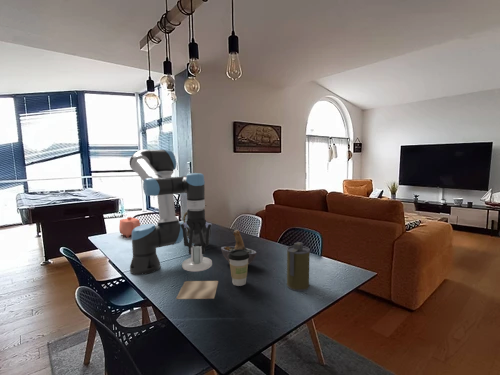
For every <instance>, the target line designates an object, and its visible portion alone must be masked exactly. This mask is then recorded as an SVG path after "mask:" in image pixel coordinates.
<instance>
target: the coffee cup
mask: <svg viewBox="0 0 500 375" xmlns="http://www.w3.org/2000/svg"><path fill="white" fill-rule="evenodd" d="M228 258H229V260H230V263H229V269H230V276H231V281H232V284H233V286H237V287H239V286H240V287H241V286H244V285H246V284H247V277H248V270H249V268H248V267H249V264H248V258H249V254H248V252H247V251H246V250H241V249H238V250H233V251H231V252H230V254H229V256H228Z"/></svg>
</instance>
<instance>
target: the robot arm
mask: <svg viewBox="0 0 500 375" xmlns="http://www.w3.org/2000/svg"><path fill="white" fill-rule="evenodd" d="M129 166H130V169H131V171H133V172H135V173H136V174H138V176H139V177H140V178H141V180H142V181H143V182H142V189H143V192H144V193H143V194H145V196H147V197H149V196H150V197H156V196H157V197H156V198H157V205H158V213H159V214H158V215H159V220H158V221H157V225H155V224H154V223H144V224H140V226H138V227H136V228H134V229H133V230H132V235H131V246H132V259H131V262H130V266H129V272H130V273H131V274H133V275H140V276H141V275H148V274H152V273H154V272H156V271H158V270H159V269H160V268H161V261H160V259H159V256H158V254H157V248H162V247H168V246H174V245H177V244H180V243H182V241H183V245H184V247H187V248H188V254H189V255H190V258H191V262H193V247H194V245H193V244H194V243H193V236H194V231H195V230H197V231H198V232H199V236H200V241H201V247H200V262H202V261H203V257H204V255H205V254H206V247H208V246H209V245H210V239H209V238H211V236H210V228H211V227H212V224H213V223H212V222H208V221H207V220H206V210H205V208H206V206H205V205H206V203H205V201H206V200H205V197H206V196H205V175H204V173H201V172H191V173H187V174H186V175H180V176H172V175H173V174H174V171H175V170H176V168H177V159H176V156H175V154H174V152H173V151H172V150H170V149H141V150H138V151H136V152H135V153H133V154H132V155H131V157H130V158H129ZM176 194H186V209H187V210H186V212H187V215H186V217H187V220H185V222H186V223H184V222H180V220H179V219H178V218H177V217H176V216H177V215H176V209H175V198H174V195H176ZM204 225H206V228H207V231H206V243H205V241H204V236H203V229H202V228H203V227H204ZM186 227H189V228H190V229H191V230H190V238H188V236H187V228H186ZM211 229H212V228H211Z"/></svg>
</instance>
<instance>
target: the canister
mask: <svg viewBox="0 0 500 375" xmlns="http://www.w3.org/2000/svg"><path fill="white" fill-rule="evenodd" d="M310 252H311V249H310V248H309V247H308V246H305V245H304V242H301V241H297V242H294V243H293V245H290V246H288V247H287V248H286V253H287V254H286V256H287V257H286V258H287V259H286V287H287V288H288V289H290V290H292V291H296V292H303V291H307V290H308V289H310V257H311V256H310V254H311V253H310Z"/></svg>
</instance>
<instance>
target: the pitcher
mask: <svg viewBox="0 0 500 375" xmlns="http://www.w3.org/2000/svg"><path fill="white" fill-rule="evenodd" d="M205 207H207V205H206V204H205ZM186 217H187V211H186V212H184V214H183V217H182V218H183V219H182V221H183V223H186ZM186 228H187V237H188V239H189V238H190V230H191V229H190V228H189V226H187V227H186ZM202 229H203V236H204V241H205V243H206V231H207V228H206V225H204V227H203V228H202ZM211 236H212V228H210V238H211ZM210 238H209V240H210ZM192 244H193V246H194V247H195V246H200V247H201V241H200V236H199V232H198V231H197V230H195V231H194V236H193V243H192Z"/></svg>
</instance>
